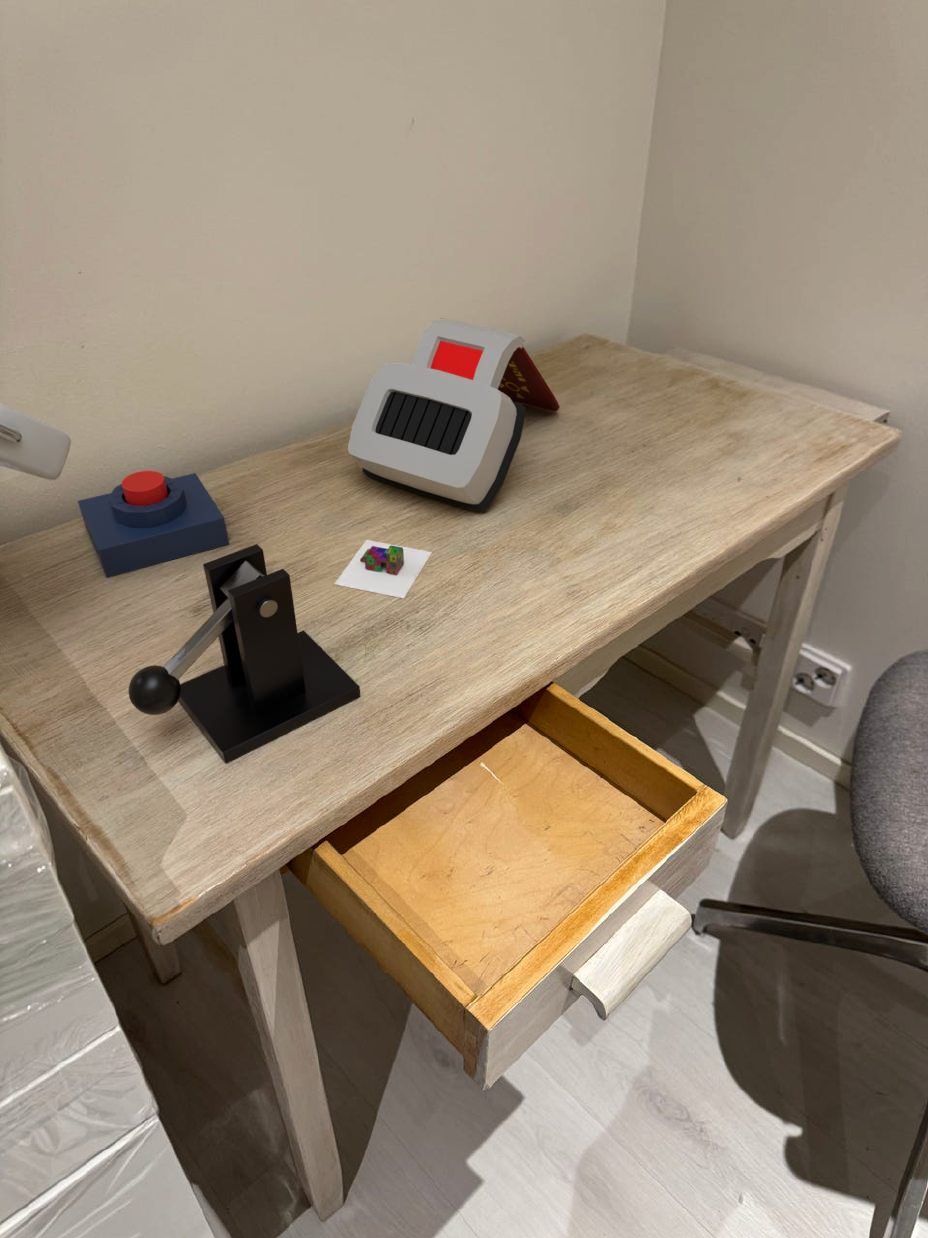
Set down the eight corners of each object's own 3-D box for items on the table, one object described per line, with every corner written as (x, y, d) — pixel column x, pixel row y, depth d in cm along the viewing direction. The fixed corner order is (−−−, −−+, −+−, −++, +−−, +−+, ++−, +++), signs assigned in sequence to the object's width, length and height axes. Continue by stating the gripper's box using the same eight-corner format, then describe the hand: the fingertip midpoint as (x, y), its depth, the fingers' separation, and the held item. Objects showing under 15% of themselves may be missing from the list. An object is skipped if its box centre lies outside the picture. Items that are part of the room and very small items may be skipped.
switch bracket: (225, 764, 67) (195, 632, 59) (175, 697, 72) (141, 569, 64) (360, 696, 73) (349, 568, 65) (305, 640, 78) (288, 515, 70)
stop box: (106, 577, 85) (93, 533, 82) (85, 527, 92) (72, 485, 89) (229, 544, 90) (221, 501, 86) (200, 498, 96) (192, 457, 93)
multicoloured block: (407, 558, 88) (406, 538, 86) (396, 574, 86) (395, 554, 84) (367, 551, 89) (366, 530, 87) (356, 566, 87) (354, 546, 85)
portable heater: (396, 287, 95) (540, 318, 89) (475, 384, 118) (594, 414, 112) (329, 456, 95) (469, 500, 88) (422, 520, 118) (538, 558, 111)
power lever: (164, 731, 65) (129, 713, 62) (145, 704, 67) (110, 685, 64) (288, 598, 66) (259, 574, 63) (265, 575, 68) (236, 551, 65)
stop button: (130, 510, 86) (126, 495, 85) (121, 491, 88) (117, 476, 87) (172, 500, 87) (169, 484, 86) (162, 482, 90) (158, 466, 89)
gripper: (-9, 369, 56) (132, 443, 69) (-221, 317, 63) (-56, 393, 76) (-43, 463, 56) (105, 520, 69) (-253, 400, 63) (-82, 463, 76)
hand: (19, 453), depth 73 cm, fingers closed
